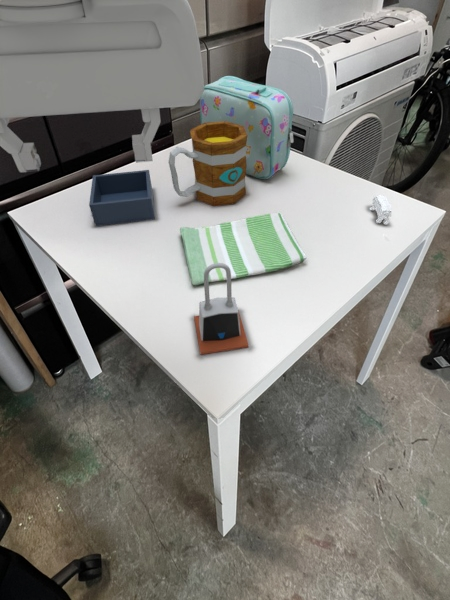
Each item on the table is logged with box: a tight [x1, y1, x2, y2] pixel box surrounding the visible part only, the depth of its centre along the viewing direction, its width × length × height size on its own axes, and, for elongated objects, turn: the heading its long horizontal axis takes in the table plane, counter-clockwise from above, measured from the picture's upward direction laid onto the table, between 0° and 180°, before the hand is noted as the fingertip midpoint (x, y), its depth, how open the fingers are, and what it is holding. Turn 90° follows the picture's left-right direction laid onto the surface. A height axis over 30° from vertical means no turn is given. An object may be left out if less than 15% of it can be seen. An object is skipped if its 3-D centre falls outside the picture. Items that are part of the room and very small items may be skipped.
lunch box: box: [199, 75, 295, 180], centre depth 97 cm, size 27×10×21 cm, turn 48°
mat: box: [193, 309, 249, 356], centre depth 63 cm, size 8×8×1 cm
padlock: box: [198, 263, 241, 341], centre depth 58 cm, size 7×4×15 cm, turn 100°
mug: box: [168, 121, 248, 207], centre depth 89 cm, size 20×14×15 cm
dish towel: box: [179, 212, 307, 286], centre depth 78 cm, size 18×23×3 cm
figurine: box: [368, 195, 392, 226], centre depth 85 cm, size 2×8×5 cm, turn 0°
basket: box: [88, 169, 156, 227], centre depth 89 cm, size 14×14×6 cm
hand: (88, 163), depth 32 cm, fingers open, 8 cm apart
